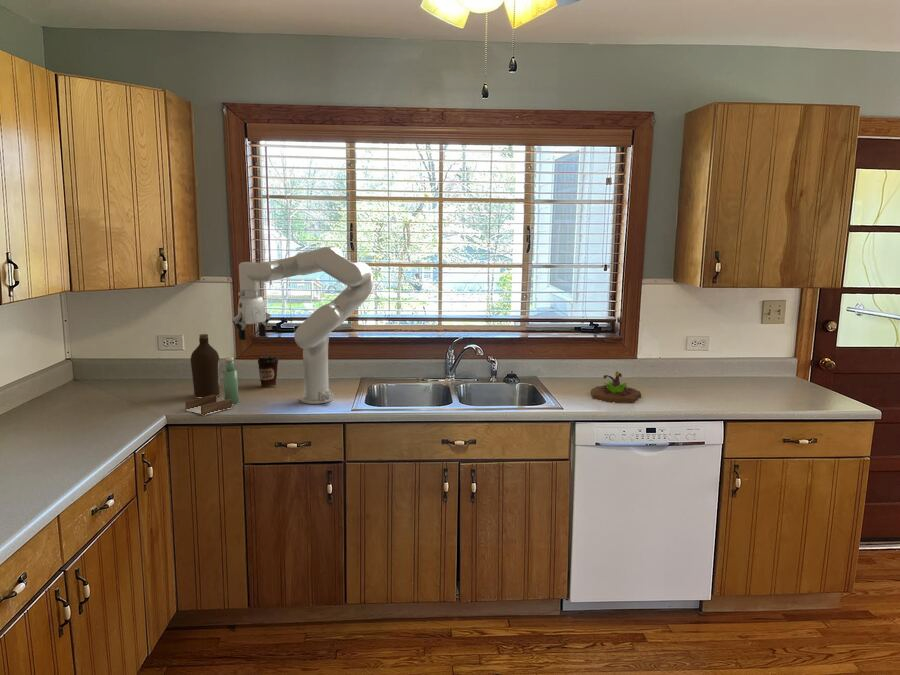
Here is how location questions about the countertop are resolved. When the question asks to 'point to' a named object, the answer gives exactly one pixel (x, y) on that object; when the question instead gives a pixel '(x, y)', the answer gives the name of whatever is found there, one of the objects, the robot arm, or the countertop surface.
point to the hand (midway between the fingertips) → (252, 337)
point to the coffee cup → (268, 370)
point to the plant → (615, 391)
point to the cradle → (209, 404)
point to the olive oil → (205, 369)
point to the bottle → (231, 381)
